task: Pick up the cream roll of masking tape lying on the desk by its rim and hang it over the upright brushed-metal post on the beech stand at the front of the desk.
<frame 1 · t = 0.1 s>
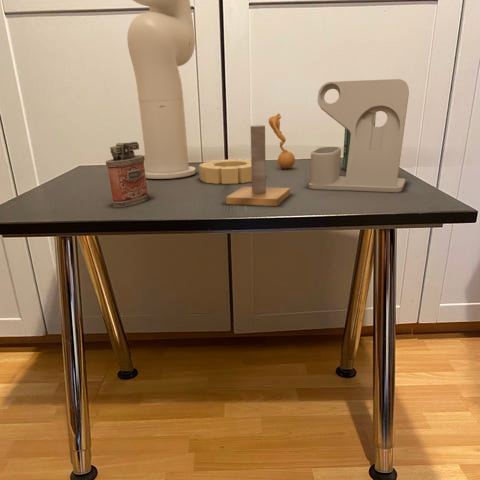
can: (356, 169, 109), on the table
tape roll: (231, 178, 104), on the table
lighter: (131, 203, 86), on the table
phone holder: (356, 186, 92), on the table
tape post: (259, 199, 84), on the table
figurine: (281, 169, 112), on the table
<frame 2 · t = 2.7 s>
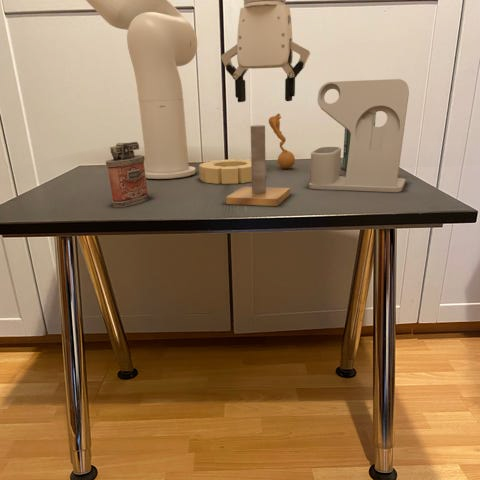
hand: (264, 101, 95), 15 cm above the table, tool pointing down, fingers open, 9 cm apart
nothing on the table moved.
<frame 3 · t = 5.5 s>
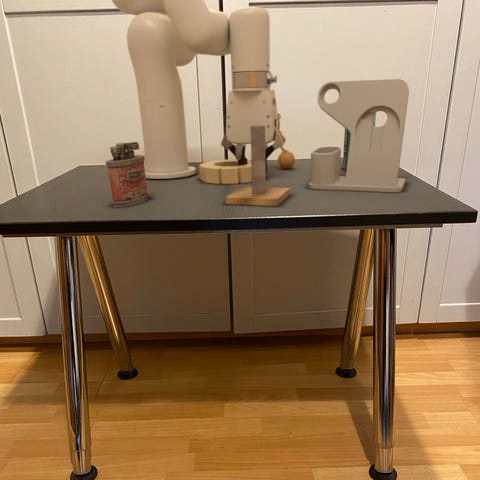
hand: (252, 177, 102), 0 cm above the table, tool pointing down, fingers closed on tape roll, 3 cm apart
tape roll: (231, 178, 104), on the table, touching gripper
everything else where it was.
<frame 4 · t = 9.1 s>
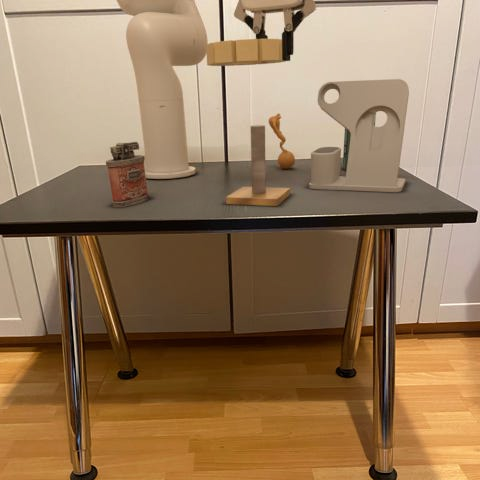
hand: (274, 60, 79), 22 cm above the table, tool pointing down, fingers closed on tape roll, 3 cm apart
tape roll: (246, 63, 81), point 21 cm above the table, touching gripper
everything else where it was.
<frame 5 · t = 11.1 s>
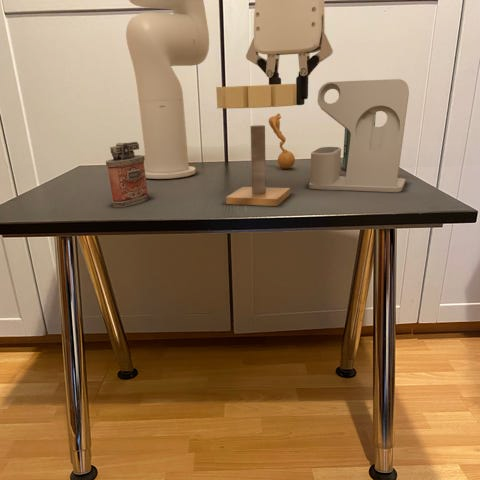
hand: (288, 103, 76), 15 cm above the table, tool pointing down, fingers closed on tape roll, 3 cm apart
tape roll: (258, 106, 77), point 15 cm above the table, touching gripper
everything else where it was.
when the fingers open (9 cm above the table, at t = 13.2 s): tape roll drops 3 cm, point 6 cm above the table.
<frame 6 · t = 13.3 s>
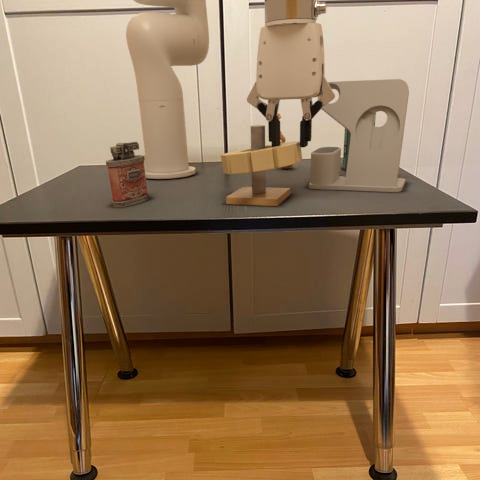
hand: (289, 145, 78), 9 cm above the table, tool pointing down, fingers open, 4 cm apart
tape roll: (262, 166, 81), point 6 cm above the table, tilted 8°
everything else where it was.
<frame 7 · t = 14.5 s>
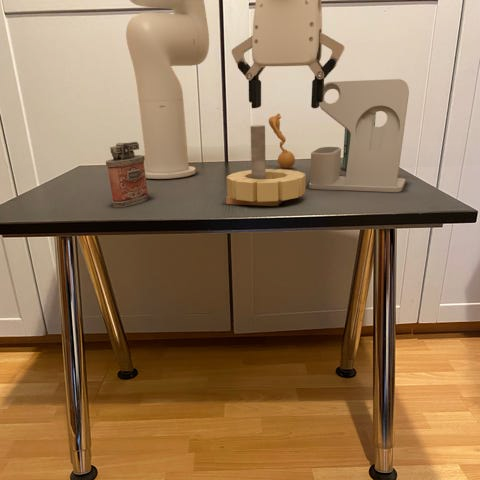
hand: (285, 107, 77), 15 cm above the table, tool pointing down, fingers open, 9 cm apart
tape roll: (266, 193, 83), point 1 cm above the table, touching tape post
everything else where it was.
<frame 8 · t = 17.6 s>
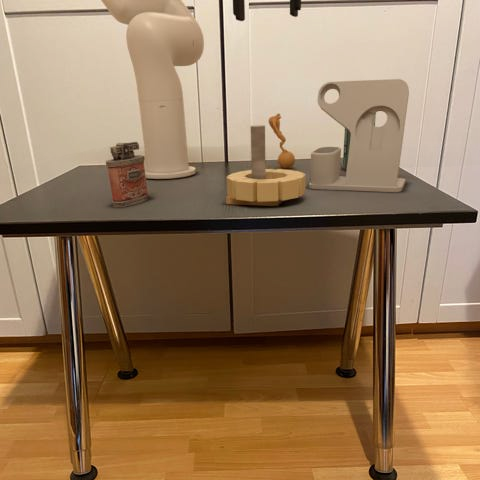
hand: (266, 18, 83), 28 cm above the table, tool pointing down, fingers open, 9 cm apart
nothing on the table moved.
at the end: tape roll 1.5 cm off-centre on the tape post, point 1.2 cm above the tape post's base; the gripper is holding nothing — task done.
